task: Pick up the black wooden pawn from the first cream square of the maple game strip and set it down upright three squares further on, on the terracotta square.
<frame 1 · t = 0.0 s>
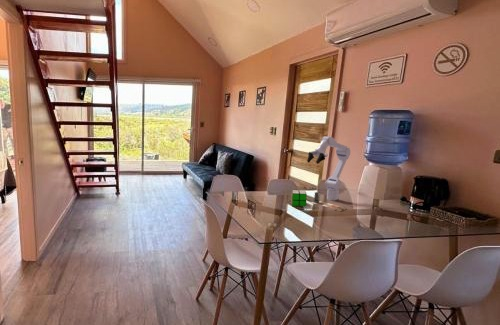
hand: (312, 162, 210), 32 cm above the table, tool tilted 50°, fingers open, 7 cm apart
board: (327, 206, 217), on the table
pawn: (316, 202, 224), point 1 cm above the table, touching board
puzzle cube: (298, 205, 218), on the table
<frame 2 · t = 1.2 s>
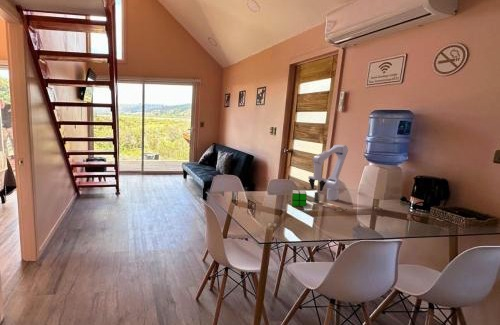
hand: (316, 189, 222), 10 cm above the table, tool pointing down, fingers open, 7 cm apart
nothing on the table moved.
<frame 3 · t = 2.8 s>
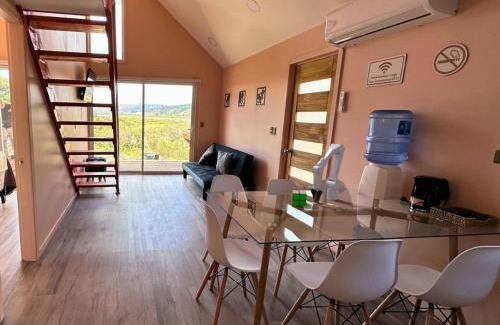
hand: (316, 199, 223), 3 cm above the table, tool pointing down, fingers closed on pawn, 3 cm apart
pawn: (316, 202, 224), point 1 cm above the table, touching board, gripper
everything else where it was.
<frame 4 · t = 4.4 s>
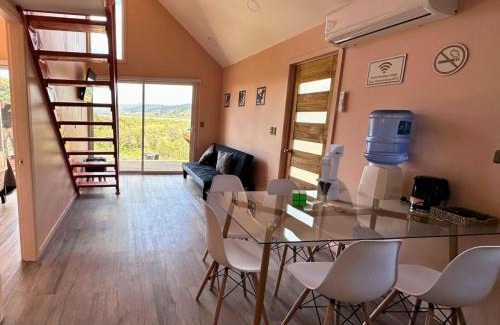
hand: (324, 192, 217), 10 cm above the table, tool pointing down, fingers closed on pawn, 3 cm apart
pawn: (324, 194, 218), point 8 cm above the table, touching gripper
everything else where it was.
when the fingers open (4 cm above the table, at t = 6.3 s): pawn drops 1 cm, resting on board.
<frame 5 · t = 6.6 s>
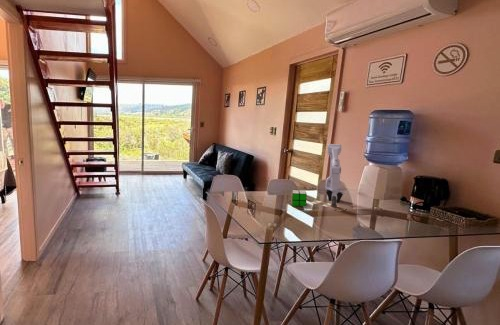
hand: (334, 201, 212), 4 cm above the table, tool pointing down, fingers open, 6 cm apart
pawn: (333, 206, 213), point 1 cm above the table, touching board
everything else where it was.
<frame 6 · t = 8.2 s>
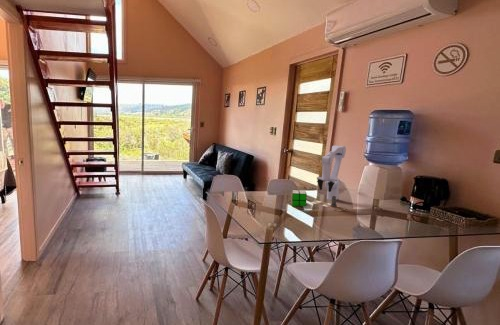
hand: (325, 190, 220), 10 cm above the table, tool pointing down, fingers open, 7 cm apart
nothing on the table moved.
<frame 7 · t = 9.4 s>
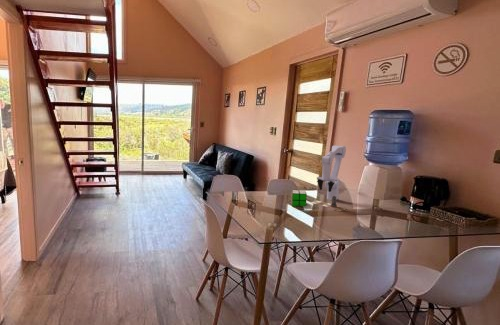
hand: (325, 190, 220), 10 cm above the table, tool pointing down, fingers open, 7 cm apart
nothing on the table moved.
at the end: pawn 0.1 cm from the target spot on the board, point 1.0 cm above the board's base; pawn tilted 1°; the gripper is holding nothing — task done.
